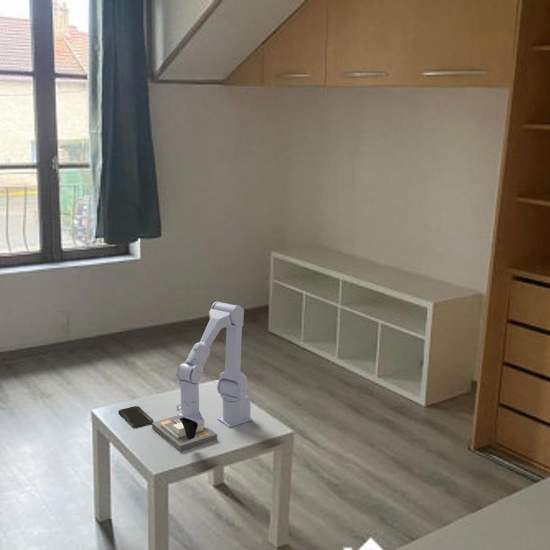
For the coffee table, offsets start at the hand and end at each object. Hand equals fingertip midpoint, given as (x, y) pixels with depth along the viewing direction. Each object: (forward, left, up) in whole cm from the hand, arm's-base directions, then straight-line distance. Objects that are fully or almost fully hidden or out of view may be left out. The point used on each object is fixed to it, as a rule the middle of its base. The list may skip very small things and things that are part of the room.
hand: (190, 438), depth 235 cm
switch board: (-3, -10, -4) cm, 11 cm away
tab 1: (0, -7, -1) cm, 7 cm away
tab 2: (-6, -7, -1) cm, 9 cm away
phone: (+5, -31, -4) cm, 32 cm away
